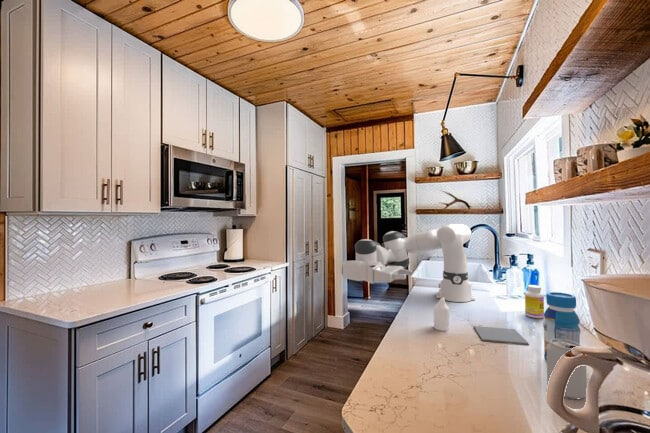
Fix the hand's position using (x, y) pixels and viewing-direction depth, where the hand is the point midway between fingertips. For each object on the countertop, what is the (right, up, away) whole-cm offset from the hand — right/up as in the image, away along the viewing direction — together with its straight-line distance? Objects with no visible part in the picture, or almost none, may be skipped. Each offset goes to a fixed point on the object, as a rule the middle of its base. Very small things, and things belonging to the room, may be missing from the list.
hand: (408, 274), depth 122 cm
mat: (+29, -19, -14) cm, 37 cm away
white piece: (+11, -20, -6) cm, 23 cm away
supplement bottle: (+56, -19, +7) cm, 59 cm away
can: (+24, -19, -49) cm, 58 cm away
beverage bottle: (+34, -19, -35) cm, 53 cm away
